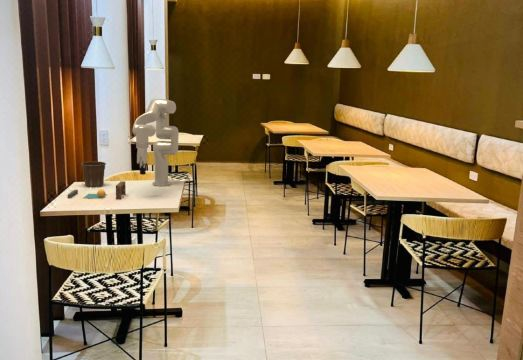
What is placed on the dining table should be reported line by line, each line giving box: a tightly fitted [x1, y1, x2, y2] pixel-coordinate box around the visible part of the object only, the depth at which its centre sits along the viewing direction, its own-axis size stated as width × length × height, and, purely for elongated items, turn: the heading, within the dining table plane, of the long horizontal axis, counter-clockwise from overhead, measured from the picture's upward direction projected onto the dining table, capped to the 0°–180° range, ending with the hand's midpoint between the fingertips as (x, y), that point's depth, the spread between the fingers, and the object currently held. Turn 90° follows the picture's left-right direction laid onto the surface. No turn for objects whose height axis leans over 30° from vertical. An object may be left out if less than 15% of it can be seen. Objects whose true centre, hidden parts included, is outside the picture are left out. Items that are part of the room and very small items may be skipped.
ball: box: [96, 189, 106, 198], centre depth 310 cm, size 5×5×5 cm
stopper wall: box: [67, 189, 79, 199], centre depth 311 cm, size 14×2×2 cm, turn 3°
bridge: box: [115, 180, 127, 200], centre depth 313 cm, size 3×14×9 cm, turn 3°
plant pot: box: [81, 161, 107, 189], centre depth 341 cm, size 16×16×16 cm
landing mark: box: [83, 193, 108, 200], centre depth 313 cm, size 12×12×1 cm
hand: (142, 174), depth 312 cm, fingers closed
